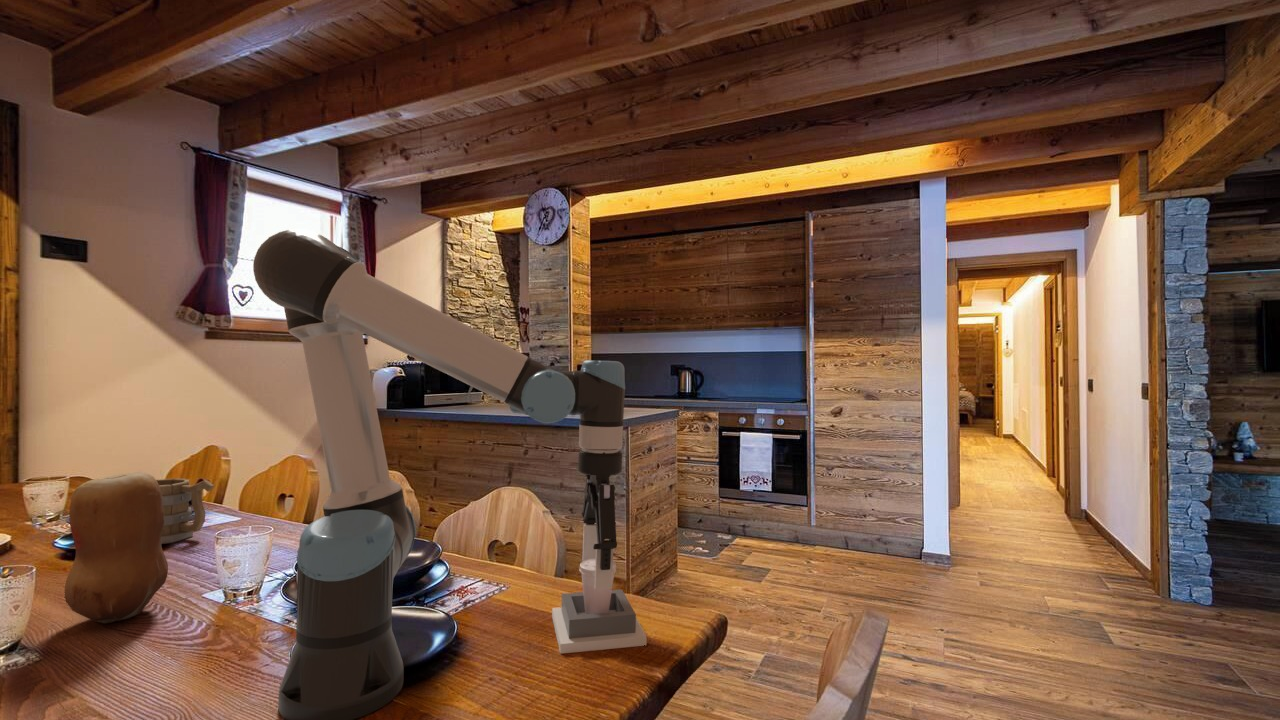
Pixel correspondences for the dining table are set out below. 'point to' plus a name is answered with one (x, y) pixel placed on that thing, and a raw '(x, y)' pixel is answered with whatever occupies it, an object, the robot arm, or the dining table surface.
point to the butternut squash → (116, 547)
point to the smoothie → (593, 598)
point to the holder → (596, 625)
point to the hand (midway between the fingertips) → (596, 573)
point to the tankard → (181, 508)
